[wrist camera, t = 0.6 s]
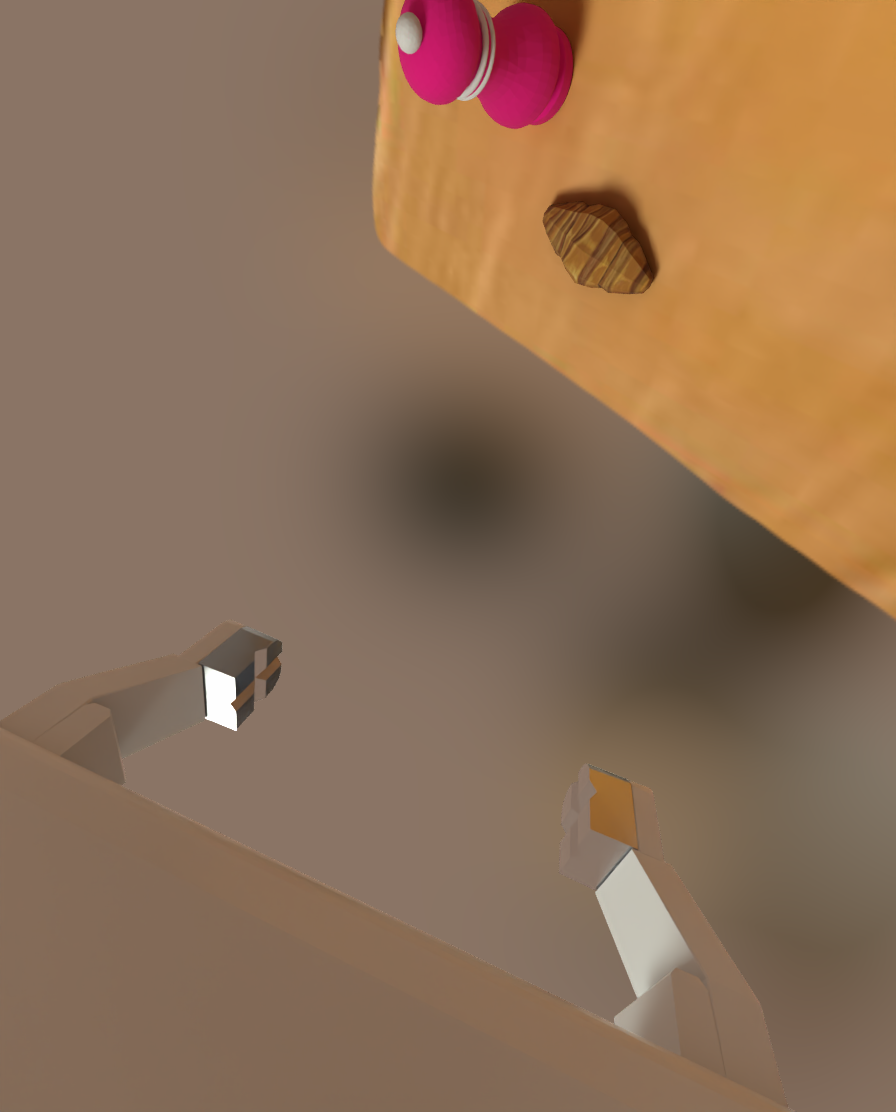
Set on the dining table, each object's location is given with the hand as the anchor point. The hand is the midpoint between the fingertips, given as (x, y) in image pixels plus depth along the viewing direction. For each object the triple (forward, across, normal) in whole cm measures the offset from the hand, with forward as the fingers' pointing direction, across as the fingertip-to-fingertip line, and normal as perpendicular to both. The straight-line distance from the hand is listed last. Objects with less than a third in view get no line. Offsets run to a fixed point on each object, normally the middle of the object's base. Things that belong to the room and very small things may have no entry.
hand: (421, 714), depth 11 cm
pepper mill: (+49, +11, -29) cm, 58 cm away
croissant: (+49, +1, -18) cm, 52 cm away
